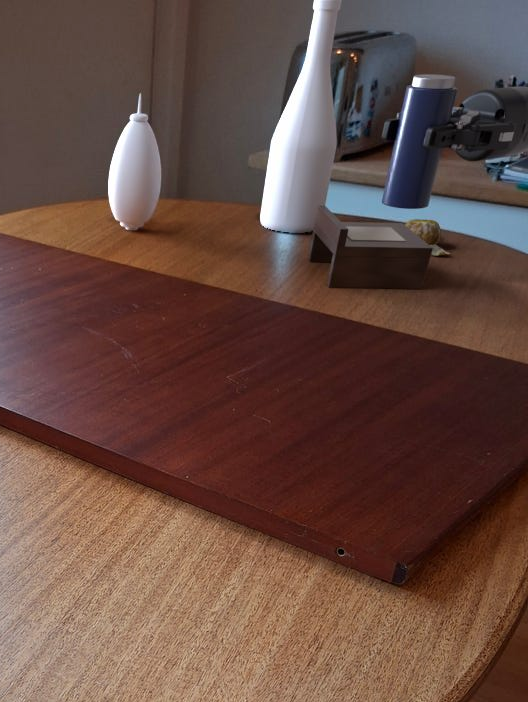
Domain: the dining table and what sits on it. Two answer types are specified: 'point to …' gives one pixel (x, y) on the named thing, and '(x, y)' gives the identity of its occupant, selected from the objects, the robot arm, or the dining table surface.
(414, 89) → the navy blue cylinder
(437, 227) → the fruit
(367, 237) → the shoe shelf
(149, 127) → the air blower bulb
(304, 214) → the wine bottle
